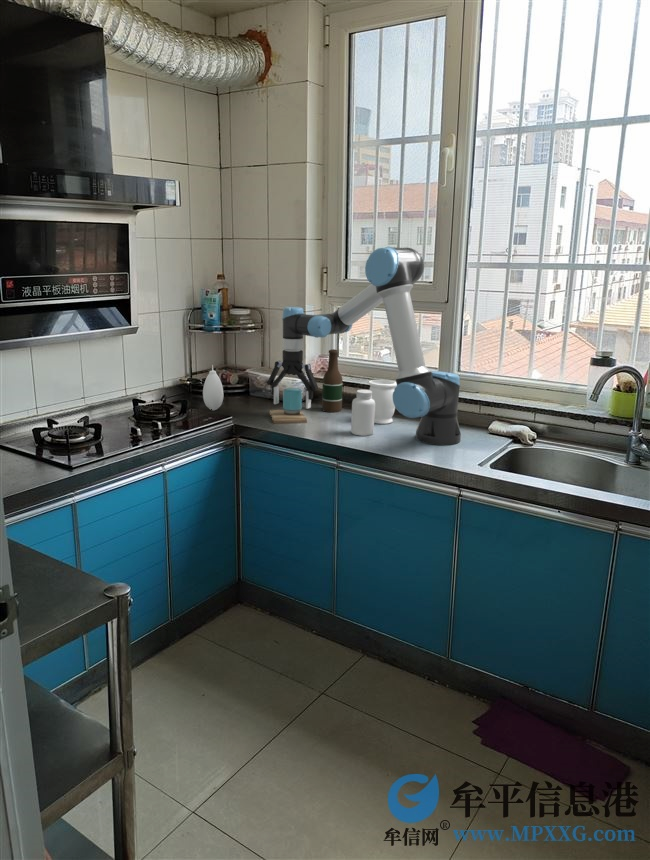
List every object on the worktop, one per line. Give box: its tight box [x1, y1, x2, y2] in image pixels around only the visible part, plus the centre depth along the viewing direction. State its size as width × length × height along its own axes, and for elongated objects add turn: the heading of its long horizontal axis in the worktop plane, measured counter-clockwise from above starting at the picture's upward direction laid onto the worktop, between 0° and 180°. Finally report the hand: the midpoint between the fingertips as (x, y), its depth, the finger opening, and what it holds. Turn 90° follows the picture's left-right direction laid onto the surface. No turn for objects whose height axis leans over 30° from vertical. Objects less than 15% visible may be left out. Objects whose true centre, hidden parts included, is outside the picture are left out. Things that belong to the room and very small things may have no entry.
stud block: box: [268, 408, 308, 424], centre depth 249 cm, size 16×12×9 cm
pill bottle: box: [350, 389, 375, 437], centre depth 230 cm, size 8×8×15 cm
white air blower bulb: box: [202, 364, 224, 411], centre depth 257 cm, size 8×8×18 cm
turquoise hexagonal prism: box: [282, 387, 303, 410], centre depth 251 cm, size 7×7×7 cm
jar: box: [368, 379, 397, 425], centre depth 246 cm, size 11×10×15 cm
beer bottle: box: [321, 349, 344, 413], centre depth 260 cm, size 8×8×24 cm
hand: (292, 405), depth 251 cm, fingers open, 13 cm apart
